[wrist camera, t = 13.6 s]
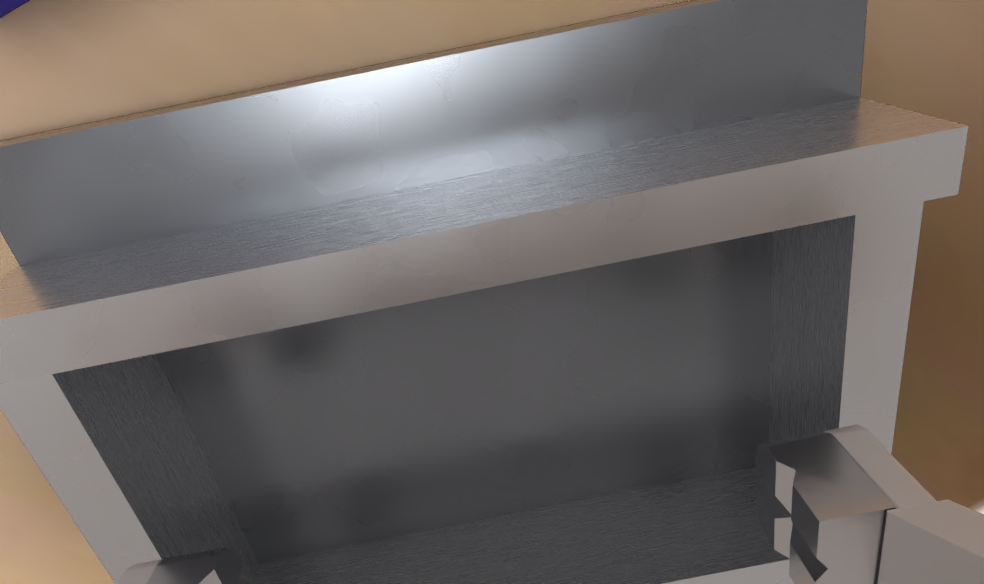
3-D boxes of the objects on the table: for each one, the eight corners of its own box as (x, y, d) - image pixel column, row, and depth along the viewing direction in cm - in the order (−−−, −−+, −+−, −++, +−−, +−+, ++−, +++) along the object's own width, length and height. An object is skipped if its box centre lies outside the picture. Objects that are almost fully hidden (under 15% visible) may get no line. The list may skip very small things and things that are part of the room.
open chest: (834, -29, 11) (992, -36, 8) (805, 513, 17) (890, 636, 14) (-5, 142, 11) (-179, 203, 8) (252, 620, 17) (208, 764, 14)
